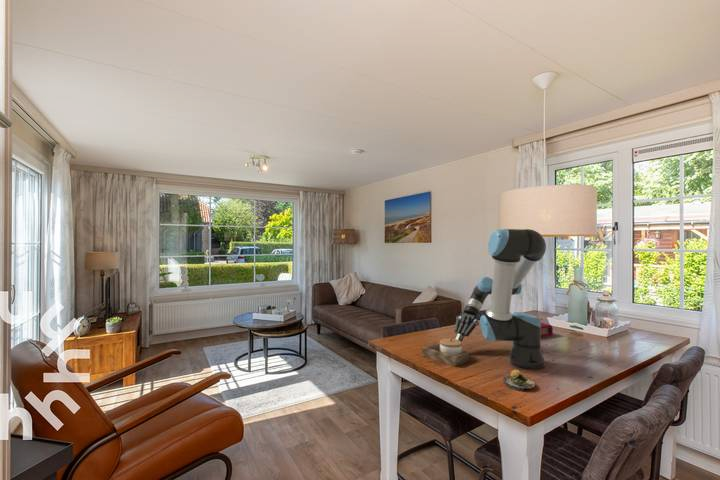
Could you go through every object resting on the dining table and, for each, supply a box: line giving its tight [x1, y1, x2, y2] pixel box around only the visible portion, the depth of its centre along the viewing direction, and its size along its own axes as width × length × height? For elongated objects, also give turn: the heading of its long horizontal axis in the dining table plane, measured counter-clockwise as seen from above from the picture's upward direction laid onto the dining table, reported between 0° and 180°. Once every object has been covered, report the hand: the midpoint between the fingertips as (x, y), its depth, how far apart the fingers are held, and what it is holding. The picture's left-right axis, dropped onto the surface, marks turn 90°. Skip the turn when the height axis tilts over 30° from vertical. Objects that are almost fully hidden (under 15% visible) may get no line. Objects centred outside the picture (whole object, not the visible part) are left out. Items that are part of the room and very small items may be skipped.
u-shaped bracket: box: [421, 342, 470, 367], centre depth 162 cm, size 19×12×4 cm, turn 41°
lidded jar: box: [439, 337, 463, 356], centre depth 163 cm, size 11×11×9 cm
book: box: [540, 322, 554, 338], centre depth 210 cm, size 21×28×8 cm
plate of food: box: [502, 366, 536, 392], centre depth 132 cm, size 12×12×8 cm
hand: (455, 345), depth 168 cm, fingers closed
